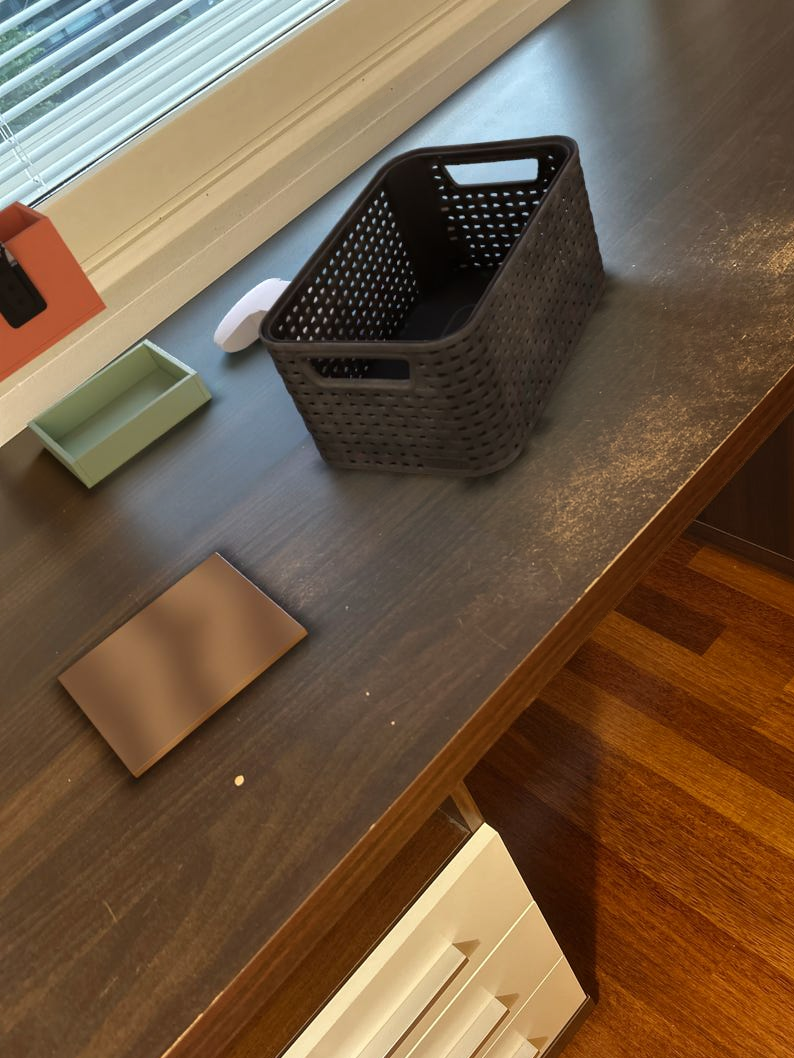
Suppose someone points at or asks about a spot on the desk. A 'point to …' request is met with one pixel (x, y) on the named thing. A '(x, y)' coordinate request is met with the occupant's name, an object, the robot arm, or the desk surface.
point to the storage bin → (441, 311)
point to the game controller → (255, 316)
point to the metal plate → (179, 661)
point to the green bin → (119, 411)
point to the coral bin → (43, 287)
